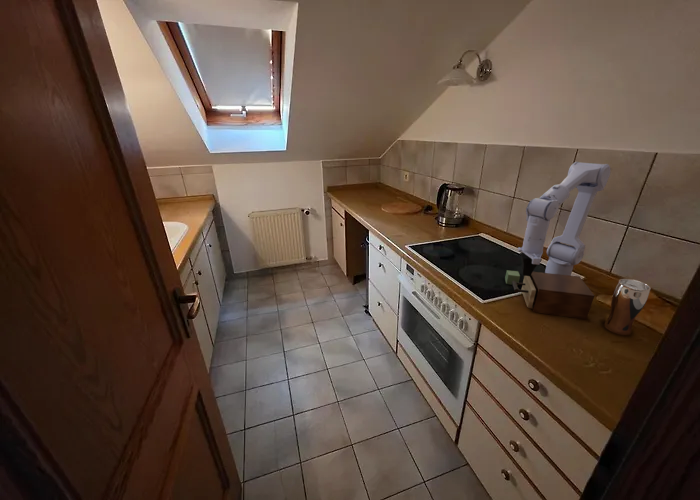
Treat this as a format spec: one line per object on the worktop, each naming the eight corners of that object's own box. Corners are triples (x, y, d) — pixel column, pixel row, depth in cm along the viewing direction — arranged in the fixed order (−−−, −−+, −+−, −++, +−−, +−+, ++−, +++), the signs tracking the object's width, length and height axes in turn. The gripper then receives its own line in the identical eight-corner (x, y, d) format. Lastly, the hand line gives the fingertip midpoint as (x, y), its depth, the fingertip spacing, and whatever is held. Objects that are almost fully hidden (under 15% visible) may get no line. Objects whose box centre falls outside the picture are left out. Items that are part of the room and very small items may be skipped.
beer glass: (618, 320, 91) (635, 277, 85) (639, 335, 85) (659, 290, 79) (596, 321, 91) (611, 278, 85) (615, 336, 85) (633, 291, 79)
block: (504, 279, 117) (506, 270, 115) (516, 280, 116) (518, 271, 114) (506, 284, 113) (508, 274, 112) (518, 285, 112) (520, 276, 111)
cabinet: (533, 311, 97) (539, 289, 93) (525, 292, 108) (530, 271, 104) (586, 319, 92) (594, 295, 89) (572, 298, 103) (579, 276, 100)
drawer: (513, 305, 99) (517, 287, 96) (508, 288, 109) (511, 272, 106) (576, 314, 93) (582, 295, 91) (564, 295, 103) (569, 278, 101)
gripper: (516, 228, 101) (509, 264, 107) (525, 243, 89) (516, 283, 94) (540, 230, 99) (531, 266, 104) (552, 246, 87) (542, 286, 92)
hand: (526, 275), depth 99 cm, fingers closed
